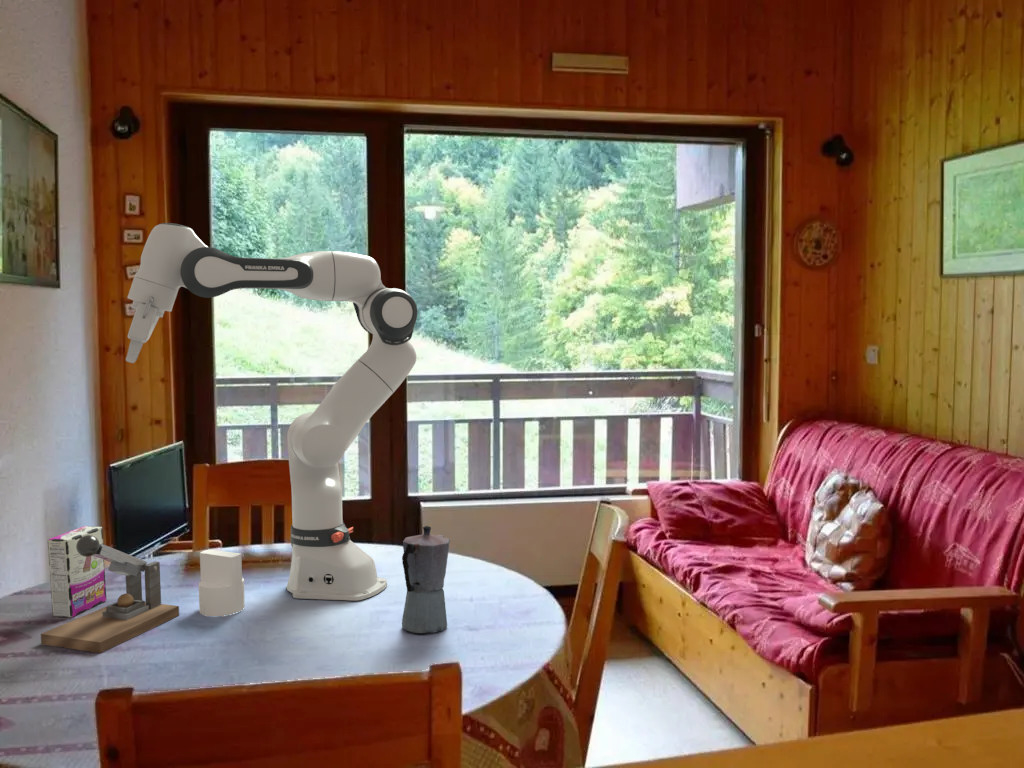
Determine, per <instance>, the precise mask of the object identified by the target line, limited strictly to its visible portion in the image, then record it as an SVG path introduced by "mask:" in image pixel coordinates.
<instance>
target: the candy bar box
mask: <svg viewBox="0 0 1024 768" xmlns="http://www.w3.org/2000/svg"><path fill="white" fill-rule="evenodd" d="M103 534H104V533H103V527H102V526H93V525H91V526H90V525H83V526H80V527H78V528H75V529H72V530H69V531H67V532H64V533H62V534H59V535H56V536H54V537H53V536H52V537H51V538H48V539H47V552H48V567H49V578H50V579H49V580H50V581H49V582H50V598H51V610H52V611H51V612H52V613H51V614H52V617H55V618H74V617H77V616H78V615H81V614H82V613H84V612H87V611H88V610H90V609H93V608H94V607H96V606H98V605H101V604H103V603H104V602H107V587H106V586H107V585H106V569H105V568H106V567H105V560H103V559H101V558H98V557H96V556H90V557H84V556H82V555H80V554H79V553H78V552H77V549H76V544H77V542H78V540H79V539H80V538H82V537H83V536H86V535H91V536H94V537H96V538H97V539H98V540H99V543H100V544H104V538H103V537H104V536H103Z"/></svg>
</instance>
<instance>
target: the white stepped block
mask: <svg viewBox="0 0 1024 768" xmlns="http://www.w3.org/2000/svg"><path fill="white" fill-rule="evenodd" d="M242 564H243V563H242V553H238V552H233V551H232V552H231V551H226V550H225V551H224V550H218V549H211V548H210V549H206V550H203V551H201V552H199V565H200V569H199V570H200V581H199V582H198V604H199V611H198V612H199V613H201V614H202V616H204V615H206V616H205V617H208V616H222V617H225V616H224V615H229V616H231V615H230V614H233V613H236V612H239V611H241V610H243V608H244V607H246V606H245V605H246V603H245V602H246V601H245V598H246V597H245V579H244V577H243V569H242V568H243V567H242V566H243V565H242ZM244 609H245V608H244ZM243 611H244V610H243ZM241 612H242V611H241ZM239 613H240V612H239ZM201 614H200V615H201ZM236 614H237V613H236ZM233 615H234V614H233Z"/></svg>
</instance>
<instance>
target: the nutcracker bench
mask: <svg viewBox="0 0 1024 768" xmlns="http://www.w3.org/2000/svg"><path fill="white" fill-rule="evenodd" d="M160 567H161V565H160V561H152V562H150V563H147V564H146V565H144V591H145V595H144V597H145V600H143V587H142V586H143V585H142V583H143V582H142V571H138V573H137V576H136V577H135V576H126V575H125V590H126V591H125V594H130V595H132V597H133V599H134V603H133V605H132V606H129V607H127V608H124V607H119V606H118V603H117V601H116V602H114V603H112V604H109V605H106V606H103V607H102V608H99V609H97V610H95V611H92V612H90V613H87V614H84V615H83V616H79V617H78V618H75V619H73V620H71V621H68V622H65V623H63V624H62V625H58V626H56V627H54V628H52V629H49V630H47V631H43V632H42V633H40V644H41V645H45V646H50V647H51V646H52V647H57V646H58V648H63V647H64V648H65V649H71V650H77V651H83V652H84V651H86V652H90V653H98V654H101V653H104V652H107V651H108V650H111V648H114V647H116V646H119V645H120V644H122V643H124V642H127V641H129V640H131V639H133V638H136V637H137V636H139V635H142V634H143V633H146V632H148V631H149V630H152V629H154V628H157V627H158V626H161V625H162V624H164V623H167V622H169V621H170V620H173V619H175V618H177V617H179V616H180V606H179V605H172V604H166V603H165V604H164V603H162V591H161V590H162V589H161V568H160Z"/></svg>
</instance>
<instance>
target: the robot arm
mask: <svg viewBox="0 0 1024 768" xmlns="http://www.w3.org/2000/svg"><path fill="white" fill-rule="evenodd" d="M138 268H139V269H138V270H137V271H136V273H135V274H134V277H133V279H132V282H131V286H130V289H129V291H128V295H127V299H129V300H132V304H131V307H130V308H131V309H133V310H135V312H134V315H133V318H132V321H131V324H130V327H129V330H128V333H127V338H128V340H130V342H129V346H128V349H127V354H126V357H125V362H127V363H131V364H135V363H136V361H137V360H138V357H139V354H140V352H141V350H142V347H143V345H144V344H145V343H147V342H148V341H149V340H150V338H151V336H152V334H153V332H154V329H155V327H156V325H157V324H158V321H159V320H160V318H163V317H164V314H165V312H172V311H173V307H174V304H175V301H176V299H177V296H178V292H179V290H180V288H181V287H183V288H185V289H187V290H188V291H189V292H190V293H191V294H193V295H196V296H198V297H201V298H207V299H208V298H210V299H211V298H216V297H219V296H222V295H225V294H226V293H228V292H230V291H231V292H232V291H233V290H239V289H254V290H256V289H258V290H259V289H263V290H265V289H266V290H267V289H268V290H281V291H285V292H288V293H290V294H293V295H295V296H296V297H299V298H301V299H307V300H312V301H318V302H319V301H320V302H321V301H322V302H351V303H352V305H353V308H354V310H355V314H356V317H357V320H358V323H359V324H360V326H361V327H362V329H363V330H364V331H366V332H367V333H368V334H370V335H372V340H371V343H370V346H368V348H367V350H366V351H365V352H364V353H363V354H362V355H361V356H360V357H359V358H358V359H357V360H356V361H355V362H354V363H353V364H352V365H351V367H349V368H348V369H347V370H346V372H344V374H342V376H341V377H340V378H339V379H337V381H336V382H335V383H334V384H333V385H332V387H331V389H330V390H329V391H328V393H327V395H326V396H325V397H324V399H323V400H322V401H321V402H320V404H319V405H318V406H317V408H316V409H315V410H314V411H313V412H306V413H302V414H301V415H298V416H297V417H295V418H294V419H293V420H292V422H291V423H290V426H289V427H288V430H287V435H286V436H287V437H286V438H287V439H286V441H287V453H288V454H287V455H288V467H289V476H290V478H289V479H290V486H291V487H290V488H291V489H290V490H291V514H292V516H291V518H292V524H291V526H290V545H291V548H292V550H291V551H292V552H291V562H290V570H289V577H288V581H287V584H286V590H287V591H288V592H289V593H291V594H292V597H293V598H294V599H302V600H303V599H304V600H305V599H307V600H331V601H362V600H365V599H368V598H371V597H373V596H376V595H377V594H379V593H382V592H383V590H384V589H386V587H388V582H387V578H384V577H378V572H377V566H376V563H375V561H374V559H373V558H372V556H370V554H368V553H367V552H366V551H364V550H363V548H360V547H359V546H358V545H357V544H355V542H353V541H352V540H351V537H350V534H351V533H353V532H354V526H352V527H349V528H347V526H346V524H345V522H344V520H343V489H342V483H341V476H340V468H339V462H340V460H342V458H343V456H344V454H346V451H347V450H348V448H350V446H351V444H352V443H353V442H354V441H355V440H356V438H357V437H358V436H359V434H360V433H361V431H362V430H363V428H364V426H366V424H367V423H368V421H369V420H370V419H371V418H372V417H373V415H374V414H375V413H376V412H377V411H378V410H379V409H380V408H381V407H382V406H383V405H384V404H385V402H386V401H387V400H388V399H389V398H390V397H391V396H392V395H393V394H394V393H395V392H396V391H397V389H399V387H400V386H401V384H402V383H403V382H404V381H405V380H406V378H407V377H408V375H409V374H410V372H411V371H412V369H413V368H414V366H415V364H416V362H417V353H416V351H415V348H414V346H413V344H411V342H410V340H411V339H412V337H413V333H414V330H415V329H414V328H415V325H416V323H417V319H418V307H417V303H416V302H415V299H414V298H413V297H412V295H410V294H409V293H408V292H406V291H405V290H403V289H400V288H396V287H393V288H389V287H386V286H385V285H384V284H383V282H382V279H381V269H380V266H379V264H378V262H377V261H376V259H374V258H373V257H371V256H369V255H364V254H360V253H355V252H349V251H348V252H347V251H337V250H336V251H335V250H320V251H319V250H317V251H308V252H303V253H299V254H294V255H291V256H287V257H282V258H281V257H280V258H268V257H267V258H266V257H265V258H263V257H239V256H233V255H231V254H229V253H227V252H224V251H223V250H220V249H218V248H215V247H210V246H208V245H206V244H205V243H204V242H203V241H202V239H200V238H199V236H198V235H197V234H196V233H195V231H194V230H193V228H191V227H189V226H186V225H183V224H178V223H172V222H162V223H159V224H157V225H155V226H154V227H153V228H152V230H151V231H150V233H149V235H148V237H147V240H146V242H145V244H144V247H143V250H142V253H141V256H140V265H139V267H138Z"/></svg>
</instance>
